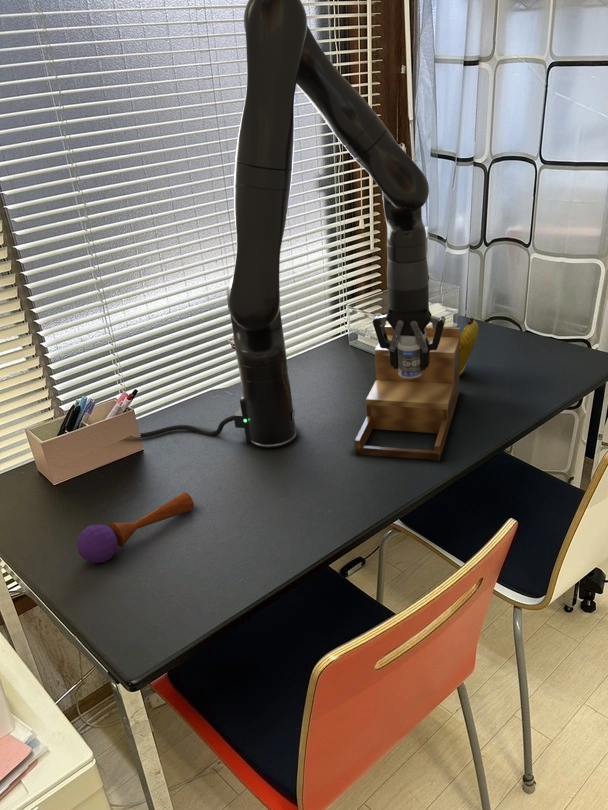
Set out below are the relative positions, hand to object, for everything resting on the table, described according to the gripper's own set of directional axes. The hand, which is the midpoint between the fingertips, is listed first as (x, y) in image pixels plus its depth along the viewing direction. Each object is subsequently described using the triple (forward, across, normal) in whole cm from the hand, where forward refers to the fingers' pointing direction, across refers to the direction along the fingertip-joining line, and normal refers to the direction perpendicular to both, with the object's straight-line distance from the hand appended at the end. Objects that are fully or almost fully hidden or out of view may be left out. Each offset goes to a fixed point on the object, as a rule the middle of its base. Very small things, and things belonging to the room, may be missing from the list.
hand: (410, 367), depth 138 cm
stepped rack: (+11, 0, -1) cm, 12 cm away
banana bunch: (+12, +6, +22) cm, 26 cm away
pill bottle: (+2, 0, 0) cm, 2 cm away
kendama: (+11, -37, -46) cm, 60 cm away
